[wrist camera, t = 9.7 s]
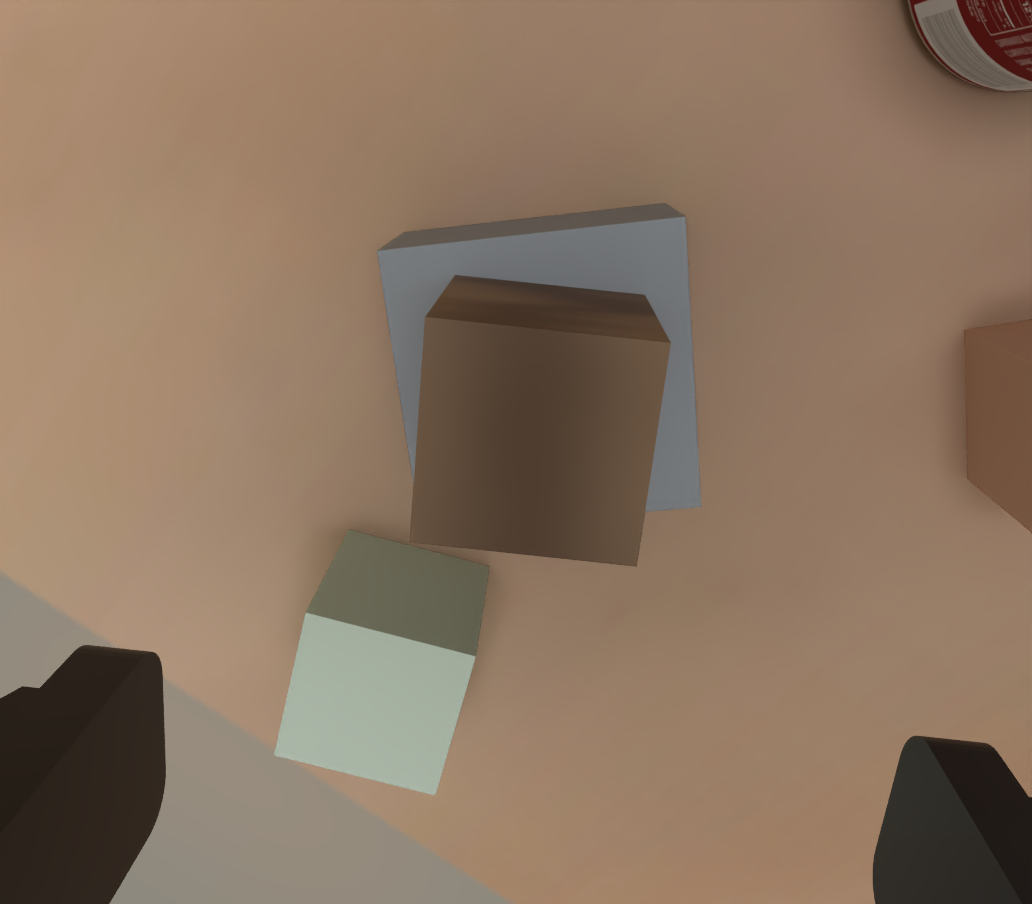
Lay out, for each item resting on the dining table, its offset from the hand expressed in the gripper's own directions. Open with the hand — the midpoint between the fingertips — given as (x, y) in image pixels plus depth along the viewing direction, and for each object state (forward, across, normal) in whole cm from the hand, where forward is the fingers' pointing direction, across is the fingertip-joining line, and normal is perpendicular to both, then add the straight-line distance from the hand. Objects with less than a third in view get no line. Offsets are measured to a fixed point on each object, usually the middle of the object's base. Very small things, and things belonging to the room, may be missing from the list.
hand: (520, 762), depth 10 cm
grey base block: (+21, 0, 0) cm, 21 cm away
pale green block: (+21, +4, +10) cm, 24 cm away
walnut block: (+16, 0, 0) cm, 16 cm away
